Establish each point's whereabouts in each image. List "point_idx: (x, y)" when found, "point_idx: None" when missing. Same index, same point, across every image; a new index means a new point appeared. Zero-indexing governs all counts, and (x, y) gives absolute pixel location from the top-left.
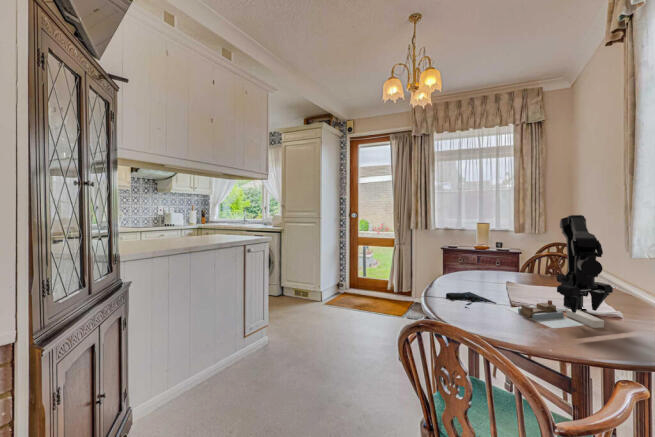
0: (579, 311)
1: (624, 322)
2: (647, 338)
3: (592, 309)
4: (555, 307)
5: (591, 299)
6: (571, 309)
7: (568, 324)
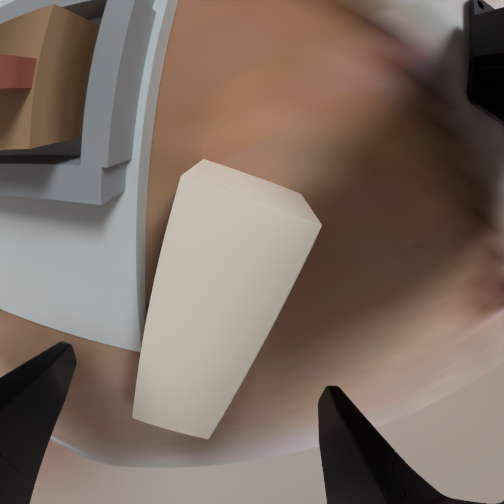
0: (254, 294)
1: (455, 347)
2: (295, 449)
3: (327, 388)
4: (39, 144)
5: (366, 474)
6: (43, 355)
7: (46, 302)
